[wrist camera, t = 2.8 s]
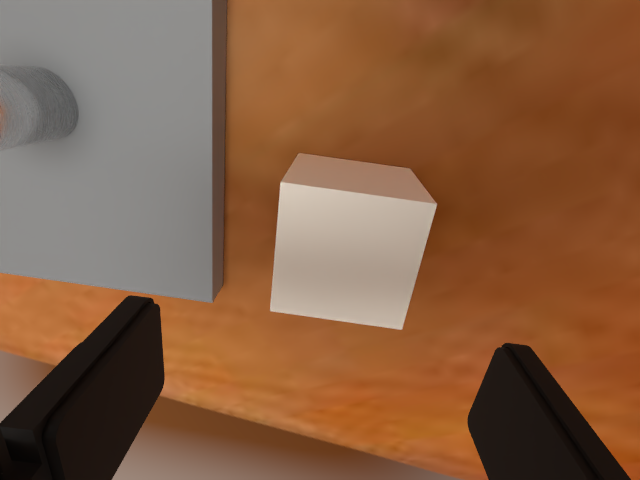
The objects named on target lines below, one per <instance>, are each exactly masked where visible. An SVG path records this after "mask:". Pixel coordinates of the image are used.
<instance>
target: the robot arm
mask: <svg viewBox="0 0 640 480" xmlns="http://www.w3.org/2000/svg"><path fill="white" fill-rule="evenodd" d="M163 385H164V362H163V348H162V333H161V318H160V307H159V305H158V304H154V301H153V299H152V298H147V297H139V296H128V297H126V298H125V299H124V300H123V301H122V302H121V303H120V304H119V305H118V306H117V307H116V309H115V310H114V311H113V312H112V313H111V314H110V315H109V316H108V317H107V318H106V319H105V320H104V321H103V322H102V323H101V324H100V325H99V326H98V327H97V328H96V329H95V330H94V331H93V332H92V333H91V334H90V335H89V336H88V337H87V338H86V339H85V340H84V341H83V342H82V343H80V344H79V345H77V346H76V347H75V348H74V349H73V350H72V351H71V352H70V353H69V354H68V355H67V356H66V357H65V358H64V359H63V360H62V361H61V362H60V363H59V364H58V365H57V366H56V367H55V368H54V369H53V370H52V371H51V372H50V373H49V374H48V375H47V376H46V377H45V378H44V379H43V380H42V381H41V382H40V383H39V384H38V385H37V387H35V388H34V389H33V390H32V391H31V392H30V394H28V395H27V397H26V398H25V399H24V400H23V401H22V402H21V403H20V404H19V405H18V406H17V407H16V408H15V409H14V410H13V411H12V412H11V413H10V414H9V415H8V416H7V417H6V418H5V419H4V420H3V421H2V422H1V423H0V480H112V478H113V476H114V474H115V473H116V471H117V469H118V467H119V466H120V464H121V462H122V460H123V458H124V457H125V455H126V453H127V451H128V450H129V448H130V446H131V444H132V442H133V441H134V439H135V437H136V435H137V434H138V432H139V430H140V428H141V427H142V425H143V423H144V421H145V419H146V417H147V416H148V414H149V412H150V411H151V409H152V407H153V405H154V404H155V402H156V400H157V398H158V396H159V395H160V393H161V391H162V388H163ZM468 428H469V431H470V433H471V436H472V438H473V441H474V443H475V446H476V448H477V451H478V454H479V456H480V459H481V461H482V464H483V466H484V469H485V471H486V474H487V476H488V479H489V480H631V479H630V478H629V476H628V475H627V474H626V472H625V471H624V470H623V469H622V467H621V466H620V465H619V463H618V462H617V461H616V459H615V458H614V457H613V455H612V454H611V453H610V451H609V450H608V449H607V447H606V446H605V445H604V443H603V442H602V441H601V440H600V438H599V437H598V436H597V434H596V433H595V432H594V430H593V429H592V428H591V426H590V425H589V424H588V422H587V421H586V420H585V418H584V417H583V416H582V414H581V413H580V412H579V411H578V409H577V408H576V407H575V405H574V404H573V403H572V401H571V400H570V399H569V397H568V396H567V395H566V393H565V392H564V391H563V389H562V388H561V387H560V385H559V384H558V383H557V381H556V380H555V379H554V378H553V376H552V375H551V374H550V372H549V371H548V370H547V368H546V367H545V366H544V364H543V363H542V362H541V360H540V359H539V358H538V356H537V355H536V354H535V352H534V351H533V350H532V349H531V348H530V347H529V346H527V345H519V344H512V343H505V344H503V345H502V347H499V348H497V349H496V350H495V353H494V355H493V357H492V360H491V362H490V364H489V367H488V369H487V372H486V374H485V376H484V379H483V381H482V384H481V386H480V388H479V391H478V393H477V396H476V398H475V400H474V403H473V405H472V408H471V410H470V412H469V415H468Z"/></svg>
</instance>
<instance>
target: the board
mask: <svg viewBox="0 0 640 480" xmlns="http://www.w3.org/2000/svg"><path fill="white" fill-rule="evenodd" d="M226 29H227V0H0V65H16V66H36V67H42V68H45V69H48V70H50V71H52V72H53V73H55V74H56V75H58V76H59V77H60V78H61V79H62V80H63V81H64V82H65V83H66V84H67V85H68V86H69V88H70V89H71V91H72V93H73V94H74V97H75V99H76V102H77V105H78V111H79V118H78V123H77V126H76V128H75V129H74V131H73V132H72V133H71V134H70V135H68V136H66V137H64V138H60V139H55V140H50V141H45V142H40V143H35V144H30V145H25V146H20V147H15V148H10V149H6V150H1V151H0V273H7V274H14V275H21V276H28V277H35V278H42V279H49V280H56V281H63V282H70V283H77V284H84V285H91V286H98V287H105V288H112V289H119V290H126V291H133V292H140V293H147V294H154V295H161V296H168V297H175V298H182V299H189V300H196V301H203V302H210V303H213V301H214V299H215V298H216V296H217V294H218V293H219V291H220V289H221V288H222V286H223V250H224V176H225V102H226Z"/></svg>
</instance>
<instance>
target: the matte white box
mask: <svg viewBox="0 0 640 480" xmlns="http://www.w3.org/2000/svg"><path fill="white" fill-rule="evenodd" d="M436 206H437V203H436V202H435V201H434V199H433V198H432V197H431V195H430V194H429V193H428V191H427V190H426V189H425V187H424V186H423V185H422V183H421V182H420V181H419V180H418V178H417V177H416V176H415V174H414V173H413V172H412V170H411V169H410V168H403V167H396V166H389V165H382V164H375V163H368V162H361V161H354V160H347V159H339V158H332V157H325V156H318V155H311V154H304V153H298V155H297V157H296V158H295V160H294V161H293V163H292V165H291V166H290V168H289V169H288V171H287V173H286V174H285V176H284V177H283V179H282V181H281V183H280V195H279V207H278V220H277V232H276V244H275V256H274V268H273V281H272V293H271V305H270V311H273V312H280V313H287V314H294V315H301V316H308V317H315V318H322V319H329V320H336V321H343V322H350V323H357V324H364V325H371V326H378V327H385V328H392V329H399V330H402V328H403V324H404V321H405V317H406V314H407V310H408V306H409V303H410V299H411V296H412V292H413V289H414V285H415V281H416V278H417V274H418V271H419V267H420V264H421V260H422V256H423V253H424V249H425V246H426V242H427V239H428V235H429V231H430V228H431V224H432V221H433V217H434V214H435V210H436Z"/></svg>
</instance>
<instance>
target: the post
mask: <svg viewBox="0 0 640 480" xmlns="http://www.w3.org/2000/svg"><path fill="white" fill-rule="evenodd" d="M78 118H79V111H78V105H77V102H76V99H75V97H74V94H73V93H72V91H71V89H70V88H69V86H68V85H67V84H66V83H65V82H64V81H63V80H62V79H61V78H60V77H59V76H58V75H56V74H55V73H53V72H52V71H50V70H48V69H45V68H42V67H36V66H16V65H0V151H1V150H6V149H10V148H15V147H20V146H25V145H30V144H35V143H40V142H45V141H50V140H55V139H60V138H64V137H66V136H68V135H70V134H71V133H72V132H73V131H74V129H75V128H76V126H77V123H78Z"/></svg>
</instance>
